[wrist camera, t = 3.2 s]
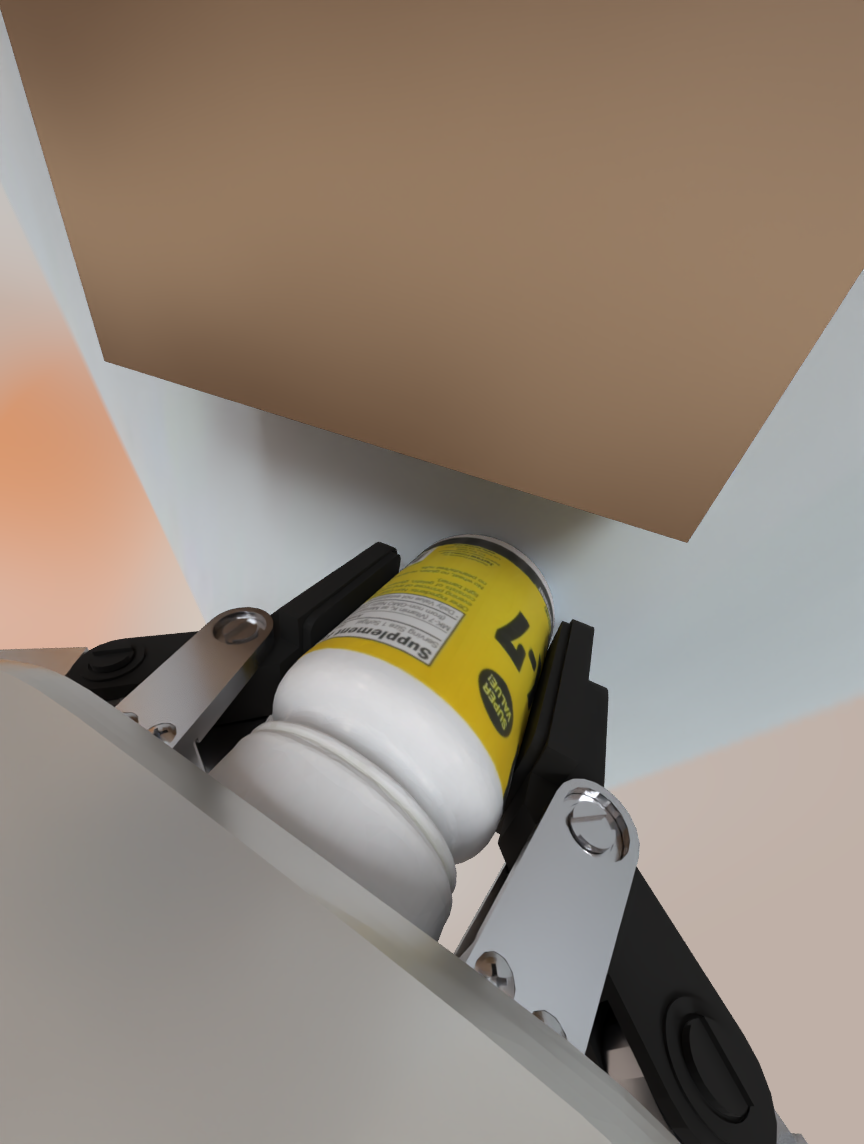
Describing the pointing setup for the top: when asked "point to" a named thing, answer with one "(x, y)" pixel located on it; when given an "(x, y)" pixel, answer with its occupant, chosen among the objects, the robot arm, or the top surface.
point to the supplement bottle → (406, 724)
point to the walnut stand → (467, 219)
